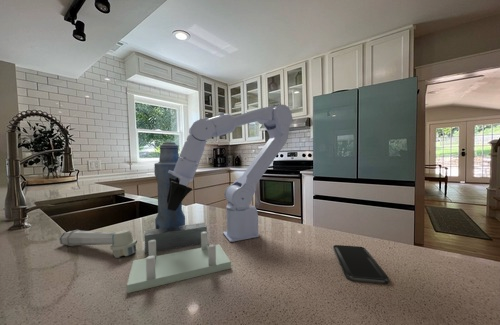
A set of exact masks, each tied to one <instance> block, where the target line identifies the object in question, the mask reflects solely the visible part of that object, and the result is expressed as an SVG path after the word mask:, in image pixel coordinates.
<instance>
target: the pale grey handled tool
mask: <svg viewBox="0 0 500 325" xmlns="http://www.w3.org/2000/svg"><path fill="white" fill-rule="evenodd" d="M59 242H60V244H61V245H63V246H70V247H72V248H73V247H77V246H99V245H101V246H102V245H104V246H106V245H110V250H111V251H112V253H113V256H114V258H115V259H117V258H121V257H123V256H125V257H128V256H131V255H133V254H134V253H137V247H136V246H137V244H138V240H137V239H134V238H133V234H132V231H131V230H130V229H124V230H120V231H99V230H98V231H95V230H93V231H91V230H80V229H75V230H69V231H67V232H66V231H65V232H64V233H62V234H61V236H60V237H59Z"/></svg>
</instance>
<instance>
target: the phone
mask: <svg viewBox="0 0 500 325" xmlns="http://www.w3.org/2000/svg"><path fill="white" fill-rule="evenodd" d="M333 252H334V254H335V256H336V258H337V262H338V263H339V265H340V267H341V270H342V272H343V274H344V277H345V278H346V279H347V280H348V281H351V282H357V283H366V284H367V283H369V284H375V285H376V284H379V285H388V284H390V278H389V276H388V275H387V274H386V273H385V271H384V270H383V269H382V268H381V266H380V264H378V263H377V261H376V260H375V259H374V257H373V256H372V255H371V254H370V252H369V250H367V248H365V247H363V246H358V245H357V246H355V245H343V244H342V245H341V244H334V245H333Z"/></svg>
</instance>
